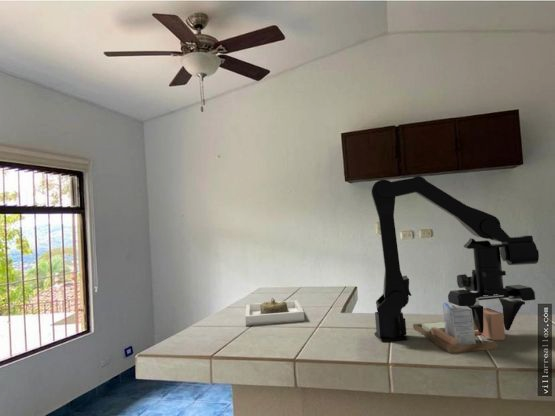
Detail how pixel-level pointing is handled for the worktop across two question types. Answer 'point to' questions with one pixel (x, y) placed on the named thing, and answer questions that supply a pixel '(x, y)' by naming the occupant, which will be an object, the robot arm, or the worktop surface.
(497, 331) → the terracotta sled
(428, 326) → the sage green stepped block
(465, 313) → the medicine box
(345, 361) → the worktop surface
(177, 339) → the worktop surface
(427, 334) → the lane rails
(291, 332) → the worktop surface
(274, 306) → the cake
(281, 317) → the white ceramic dish
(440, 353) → the worktop surface
